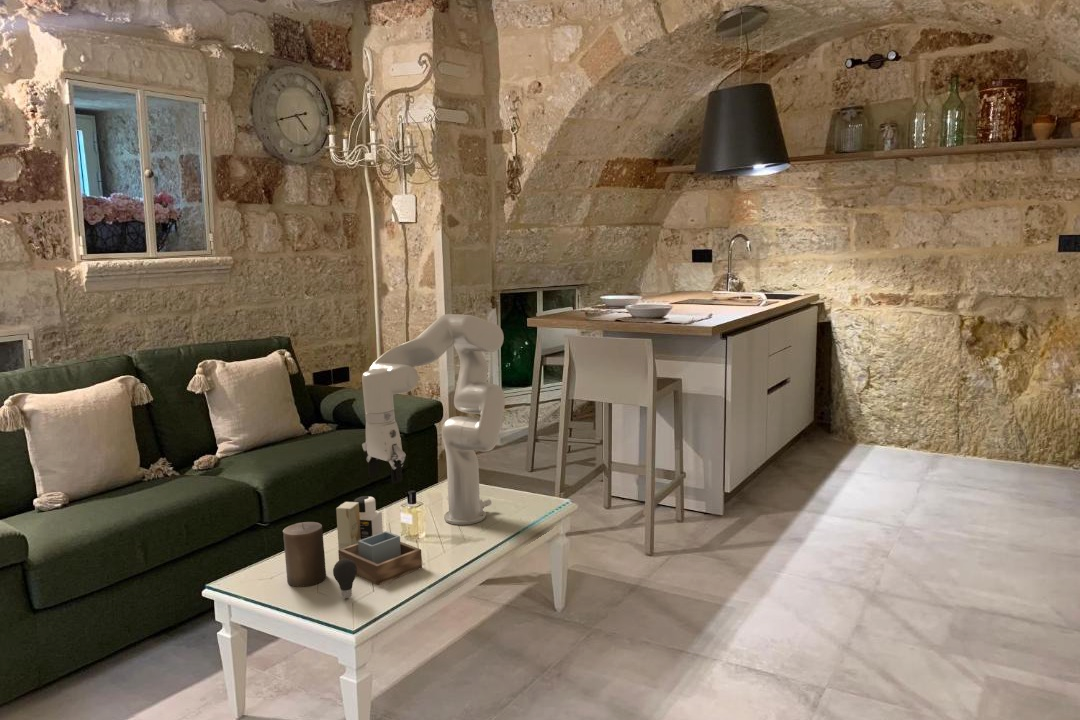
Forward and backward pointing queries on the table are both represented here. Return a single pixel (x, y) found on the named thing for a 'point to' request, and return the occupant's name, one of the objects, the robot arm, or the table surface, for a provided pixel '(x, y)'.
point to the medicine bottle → (369, 517)
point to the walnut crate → (384, 564)
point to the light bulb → (345, 576)
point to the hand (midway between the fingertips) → (385, 478)
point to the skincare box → (348, 524)
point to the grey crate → (380, 547)
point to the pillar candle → (304, 554)
